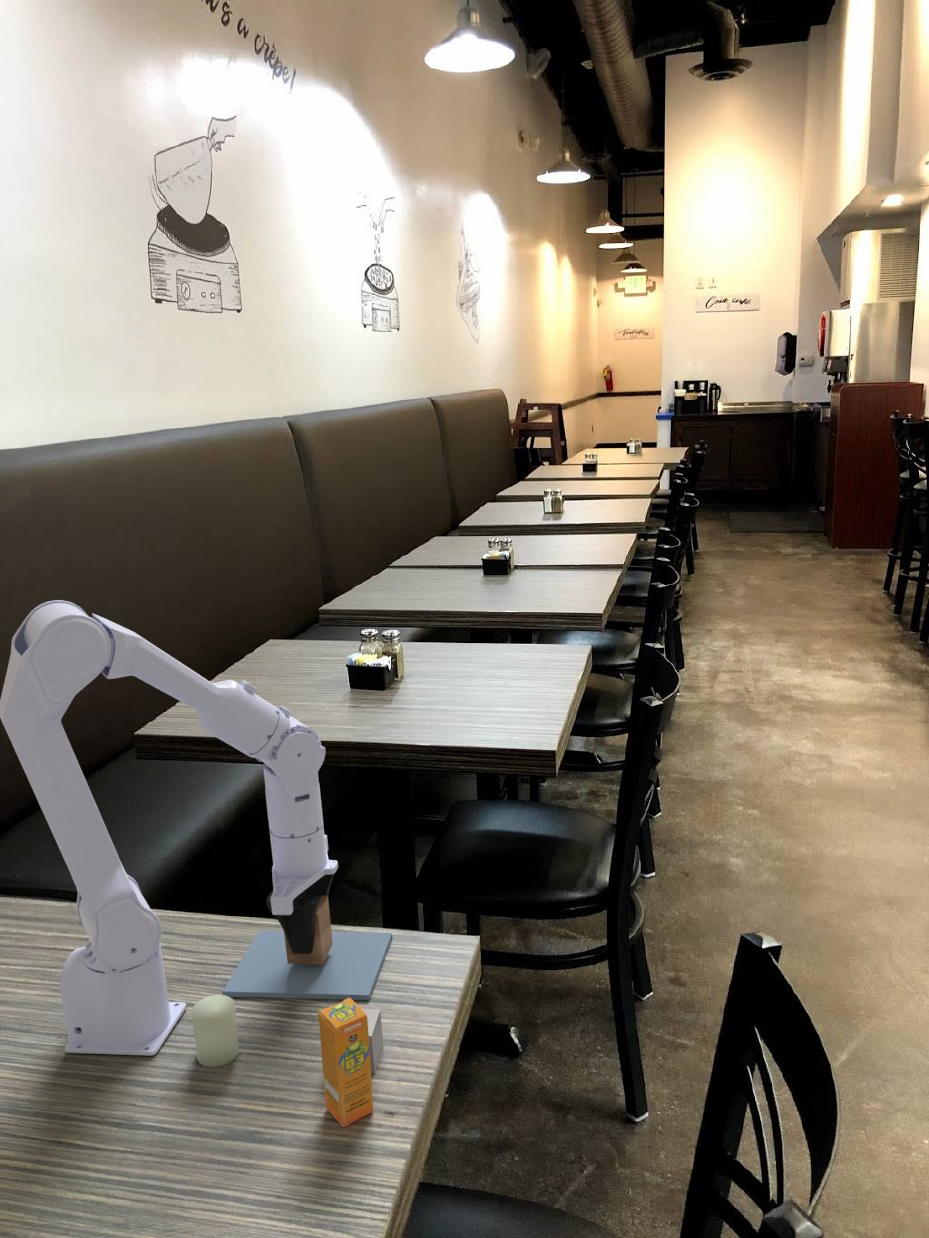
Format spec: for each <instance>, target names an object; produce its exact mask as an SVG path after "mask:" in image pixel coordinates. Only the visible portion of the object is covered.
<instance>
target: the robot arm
mask: <svg viewBox="0 0 929 1238" xmlns="http://www.w3.org/2000/svg"><path fill="white" fill-rule="evenodd" d="M91 615H92V617H91V616H89V615H88V614H87V612H86V611H85V610H84V609H83V608H82V607H81V606H79V605H77V604H76V603H74V602H71V601H68V600H67V601H66V600H63V599H62V600H61V599H59V600H57V599H55V600H54V599H53V600H50V601H45V602H42V603H40V604H39V605H36V607H35V608H34V609H32V610H30V612H29V613H28V615H27V616H26V617H25V618H24V620H23V621H22V623H21V625H20V626H19V627H18V628H17V630H16V632H15V633H14V635H13V636H12V638H11V647H10V648H11V649H10V655H9V660H8V665H7V670H6V674H5V677H4V678H5V679H4V683H3V687H2V691H1V695H0V720H1V723H2V725H3V727H4V729H5V731H6V734H7V735H8V738H9V740H10V742H11V745H12V747H13V749H14V752H15V754H16V755H17V758H18V760H19V762H20V765H21V766H22V769H23V771H24V773H25V775H26V778H27V780H28V782H29V785H30V787H31V789H32V791H33V793H34V795H35V798H36V800H37V802H38V805H39V807H40V809H41V811H42V813H43V816H44V818H45V820H46V822H47V824H48V827H49V828H50V831H51V833H52V835H53V838H54V841H55V842H56V844H57V847H58V848H59V851H60V853H61V855H62V858H63V860H64V862H65V865H66V866H67V869H68V870H69V873H70V876H71V878H72V880H73V882H74V885H75V888H76V890H77V898H76V907H75V908H76V914H77V917H78V919H79V921H80V923H82V925H83V927H84V928H85V931H86V934H87V936H88V941H87V942H86V946H82V947H77V948H76V949H74V950H73V951H71V953H70V954H69V956H68V957H67V959H66V960H65V962H64V964H63V967H62V971H61V977H60V983H59V984H60V985H59V987H60V988H59V990H60V992H59V993H60V998H61V1005H62V1010H63V1016H64V1017H63V1018H64V1022H65V1028H66V1033H67V1038H68V1043H67V1044H66V1045H65V1047H64V1051H65V1053H71V1054H72V1053H73V1054H96V1055H98V1054H99V1055H126V1056H127V1055H128V1056H148V1057H149V1056H154V1055H156V1054H157V1053H158V1052H159V1050H160V1049H161V1048H162V1045H163V1044H164V1042H165V1041H166V1040H167V1038H168V1036H169V1034H170V1033H171V1032H172V1030H173V1028H174V1027H175V1026H176V1024H177V1022H178V1021H179V1019H180V1018H181V1017H182V1015H183V1014H184V1012H185V1010H186V1009H187V1003H186V1002H184V1001H169V995H168V994H169V992H168V987H167V981H166V974H165V966H164V965H165V964H164V959H163V958H164V957H163V953H162V945H161V940H162V939H161V937H162V925H161V922H160V919H159V917H158V915H157V914H156V913H155V912H154V911H153V910H152V909H151V908H150V905H149V904H148V902H147V900H146V899H145V898H144V896H143V893H142V890H141V889H140V887H139V884H138V883H137V881H136V880H135V878H133V877H132V876H130V875H129V874H128V873H127V872H126V869H125V868H124V865H123V863H122V861H121V860H120V857H119V854H118V851H117V849H116V848H115V845H114V843H113V840H112V838H111V836H110V834H109V831H108V828H107V826H106V824H105V822H104V820H103V817H102V815H101V812H100V811H99V807H98V805H97V803H96V800H95V798H94V797H93V794H92V792H91V790H90V787H89V785H88V782H87V779H86V777H85V775H84V773H83V771H82V769H81V766H80V764H79V761H78V759H77V756H76V754H75V752H74V750H73V747H72V745H71V742H70V741H69V738H68V736H67V733H66V731H65V729H64V726H63V723H62V718H63V716H64V715H65V713H66V711H67V710H68V708H69V707H70V704H72V701H73V700H74V698H75V696H76V695H77V694H78V693H80V691H83V690H84V688H85V687H86V686H87V685H89V684H90V683H91V682H92V681H93V680H95V679H96V678H97V677H98V676H99V675H100V674H102V675H103V676H104V677H105V678H106V680H107V679H108V680H112V679H119V678H123V677H124V678H125V677H129V676H130V677H131V676H132V677H136V678H137V679H139V680H141V681H143V682H144V683H146V684H148V685H150V686H152V687H153V688H155V689H157V690H160V691H161V692H163V693H164V694H167V695H168V696H171V697H172V698H173V699H176V700H177V701H179V702H181V703H183V704H185V705H186V706H189V707H190V708H191V709H193V710H195V712H196V715H197V720H198V725H199V727H200V729H201V730H203V731H204V732H206V733H208V734H210V735H212V736H214V737H215V738H217V739H219V740H220V741H222V742H224V743H225V744H228V746H230V747H233V748H234V749H236V750H238V751H239V752H241V753H243V754H244V755H246V756H247V757H250V758H253V759H254V758H255V759H256V760H257V761H258V762H263V764H265V766H263V769H262V770H263V776H264V778H263V779H264V787H265V788H264V789H265V792H264V793H265V800H266V810H267V819H268V828H269V835H270V836H269V837H270V845H271V855H272V863H273V865H272V867H271V872H272V876H271V877H272V886H273V888H272V889H273V890H272V891H271V892H270V893H269V894H268V897H267V898H266V906H267V909H268V910H269V912H270V913H272V915H273V916H274V917H275V918H276V920H277V922H278V923H279V925H280V926H281V928H282V931H284V933H285V935H286V938H287V940H288V943H289V945H290V948H291V950H292V952H293V953H294V954H311V952H312V950H313V945H314V927H315V916H316V911H317V908H318V904H319V902H320V899H321V897H322V896H328V897H329V893H330V892H329V891H330V889H331V885H332V882H333V880H334V876H335V873H336V872H337V870H338V869H339V863H338V860H336V859H335V860H334V859H333V860H332V859H329V856H328V855H329V854H328V851H329V843H328V835H327V834H325V829H324V817H323V807H322V800H321V799H322V796H321V788H320V782H319V771H320V769H321V767H322V765H323V764H324V761H325V756H326V747H325V746H323V745H322V741H321V740H320V737H319V735H318V734H317V732H315V730H313V729H311V728H310V727H309V726H307V725H306V724H304V723H303V722H301V721H300V720H298V719H296V718H295V717H293V716H292V711H291V710H290V709H288V708H287V707H285V706H284V705H280V706H279V707H277V706H276V705H274V704H272V703H270V702H269V701H267V700H266V699H264V698H262V697H261V696H260V695H258V694H256V691H257V687H255V686H254V685H252V684H251V683H249V682H247V681H246V680H243V679H242V680H241V682H240V683H238V682H237V681H235V680H233V679H227V680H222V681H218V682H211V681H209V680H208V679H207V678H205V677H204V676H202V675H200V674H199V673H198V672H196V671H194V670H193V669H191V668H190V667H188V666H187V665H185V664H183V663H182V662H181V661H179V660H177V659H176V658H175V657H173V656H171V655H170V654H168V653H167V652H165V651H164V650H162V649H161V648H159V647H157V646H156V645H154V644H153V643H151V642H150V641H148V640H147V639H146V638H144V637H142V636H141V635H139V634H138V633H137V632H135V631H133V630H130V629H128V628H126V627H124V626H122V625H120V624H118V623H116V622H113V621H112V620H109V619H107V618H105V617H103V616H100V615H97V614H95V613H91Z"/></svg>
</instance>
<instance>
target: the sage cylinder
mask: <svg viewBox="0 0 929 1238" xmlns="http://www.w3.org/2000/svg"><path fill="white" fill-rule="evenodd" d="M236 1012H237V1011H236V1003H235V1000H234V999H233V997H228V996H225V995H222V994H213V995H209V996H207V997H204V998H202V999H200V1000H199V1001H197V1002H196V1003H195V1005H194V1006H193V1007H192V1010H191V1016H192V1024H193V1033H194V1034H193V1036H194V1045H195V1053H196V1054H195V1055H196V1059H197V1062H198V1063H199V1064H200V1065H202V1066H203V1067H208V1068H217V1067H222V1066H225V1065H227V1064H230V1063H231V1062H233V1060H234V1059H235V1058H236V1057H237V1056H238V1054H239V1052H240V1046H239V1045H240V1044H239V1033H238V1023H237V1022H238V1021H237V1013H236Z"/></svg>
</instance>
